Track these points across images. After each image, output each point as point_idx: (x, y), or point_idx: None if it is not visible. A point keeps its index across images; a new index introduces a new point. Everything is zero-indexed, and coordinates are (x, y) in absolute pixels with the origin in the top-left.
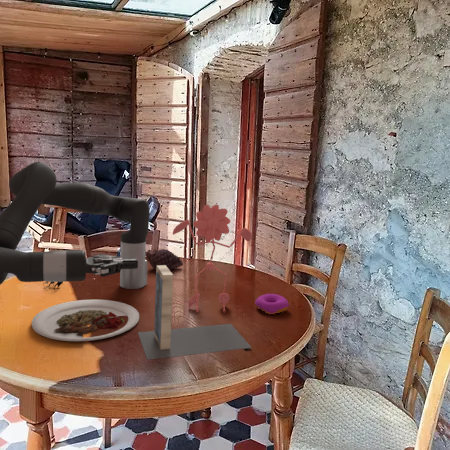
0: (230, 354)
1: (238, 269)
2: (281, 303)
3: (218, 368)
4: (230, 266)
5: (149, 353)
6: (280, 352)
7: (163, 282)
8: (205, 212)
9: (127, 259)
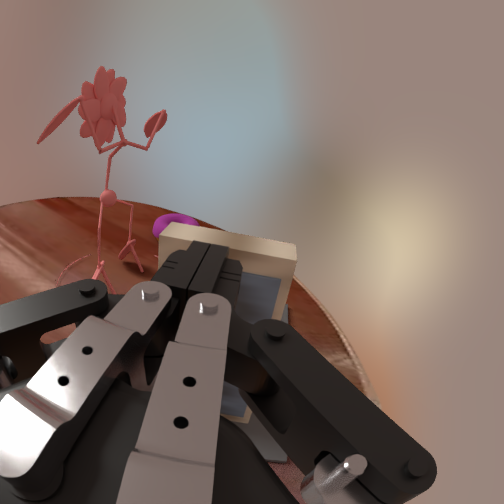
0: None
1: (45, 202)
2: (196, 223)
3: (336, 363)
4: (31, 203)
5: (259, 449)
6: (302, 288)
7: (289, 285)
8: (100, 82)
9: (188, 267)
